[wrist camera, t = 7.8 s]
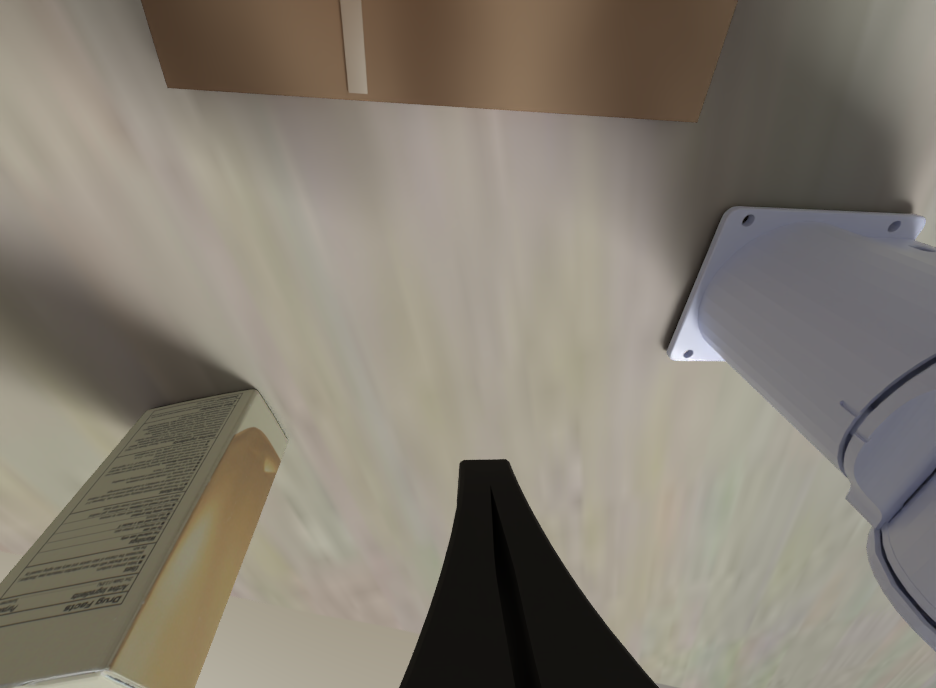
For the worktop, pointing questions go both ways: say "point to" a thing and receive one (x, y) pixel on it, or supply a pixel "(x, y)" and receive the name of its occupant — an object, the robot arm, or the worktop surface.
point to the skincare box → (143, 552)
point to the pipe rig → (452, 52)
